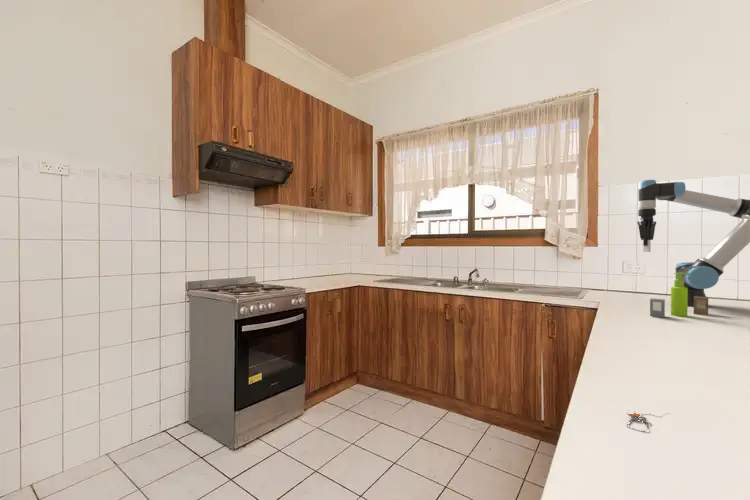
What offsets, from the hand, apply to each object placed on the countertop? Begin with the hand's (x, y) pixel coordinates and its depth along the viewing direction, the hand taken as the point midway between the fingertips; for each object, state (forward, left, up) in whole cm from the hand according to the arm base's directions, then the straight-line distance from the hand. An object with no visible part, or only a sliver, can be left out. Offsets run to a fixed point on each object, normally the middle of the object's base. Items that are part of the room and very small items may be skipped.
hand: (646, 251), depth 190 cm
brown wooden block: (+3, +25, -30) cm, 39 cm away
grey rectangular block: (+28, +20, -30) cm, 45 cm away
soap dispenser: (+16, +23, -30) cm, 41 cm away
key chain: (+138, +77, -30) cm, 161 cm away
